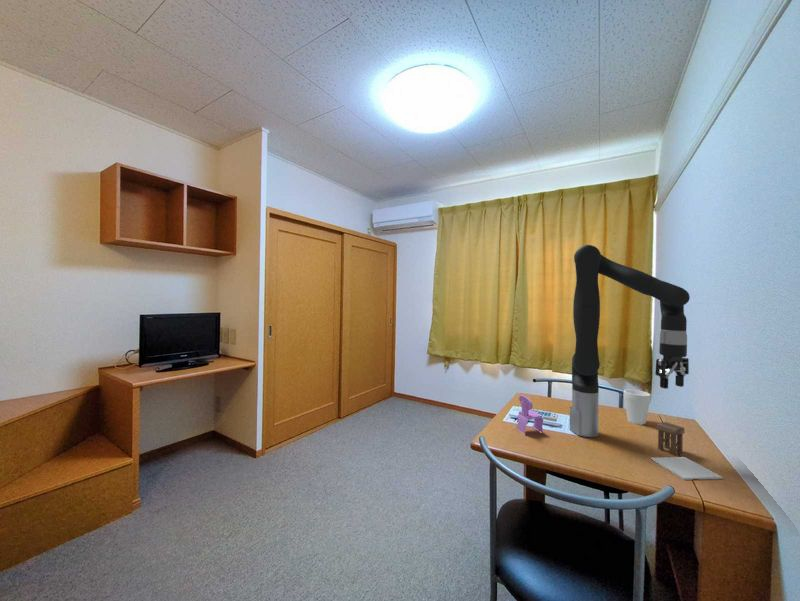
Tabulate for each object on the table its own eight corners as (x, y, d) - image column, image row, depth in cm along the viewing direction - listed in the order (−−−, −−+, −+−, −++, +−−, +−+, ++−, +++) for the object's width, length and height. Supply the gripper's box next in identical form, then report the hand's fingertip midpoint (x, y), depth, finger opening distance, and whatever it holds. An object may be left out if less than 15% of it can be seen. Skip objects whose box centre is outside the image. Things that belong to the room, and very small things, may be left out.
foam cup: (655, 426, 135) (656, 395, 135) (635, 426, 134) (635, 396, 134) (637, 417, 144) (637, 389, 144) (618, 418, 144) (618, 389, 144)
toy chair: (545, 434, 126) (545, 397, 126) (526, 437, 124) (526, 399, 124) (532, 426, 134) (532, 391, 134) (513, 428, 132) (514, 392, 132)
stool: (674, 456, 109) (675, 430, 109) (656, 448, 114) (656, 424, 114) (684, 453, 111) (684, 427, 111) (665, 446, 117) (665, 421, 116)
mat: (684, 479, 95) (684, 477, 95) (650, 459, 107) (650, 457, 107) (722, 478, 95) (722, 476, 95) (684, 458, 107) (684, 456, 107)
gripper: (672, 344, 108) (670, 391, 109) (698, 343, 113) (696, 388, 113) (648, 341, 115) (647, 385, 116) (673, 340, 120) (672, 382, 120)
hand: (671, 387), depth 115 cm, fingers open, 8 cm apart
